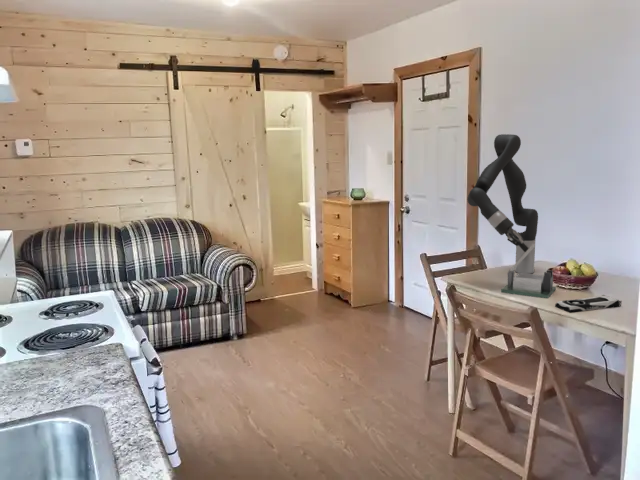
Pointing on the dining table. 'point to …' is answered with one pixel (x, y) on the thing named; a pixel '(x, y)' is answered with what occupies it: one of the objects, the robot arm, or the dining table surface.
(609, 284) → the dining table surface
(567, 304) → the graphics card
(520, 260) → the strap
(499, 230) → the robot arm
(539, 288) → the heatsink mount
